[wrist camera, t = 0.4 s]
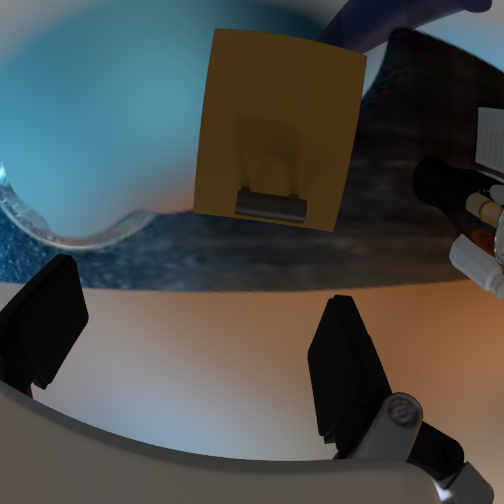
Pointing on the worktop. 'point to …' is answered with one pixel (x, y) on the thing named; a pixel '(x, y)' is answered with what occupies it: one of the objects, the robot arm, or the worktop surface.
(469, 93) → the worktop surface
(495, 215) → the beer glass
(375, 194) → the worktop surface
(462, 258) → the pepper shaker
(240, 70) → the cover
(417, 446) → the robot arm
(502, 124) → the small box
